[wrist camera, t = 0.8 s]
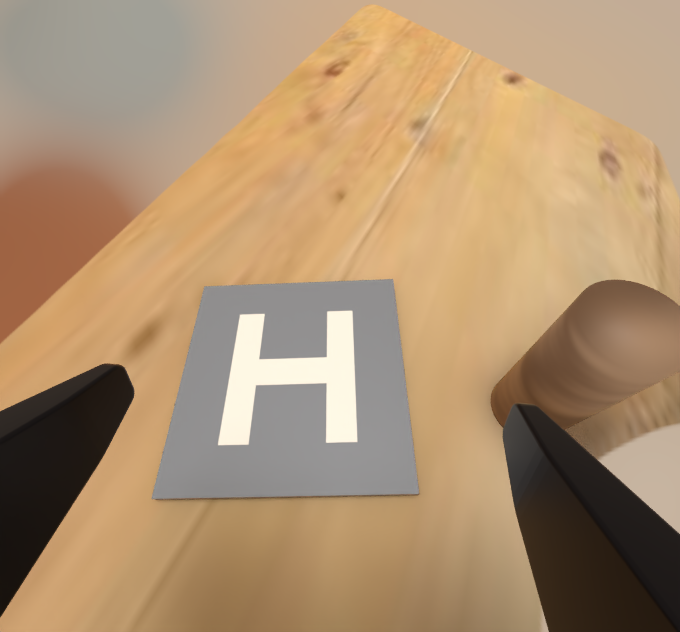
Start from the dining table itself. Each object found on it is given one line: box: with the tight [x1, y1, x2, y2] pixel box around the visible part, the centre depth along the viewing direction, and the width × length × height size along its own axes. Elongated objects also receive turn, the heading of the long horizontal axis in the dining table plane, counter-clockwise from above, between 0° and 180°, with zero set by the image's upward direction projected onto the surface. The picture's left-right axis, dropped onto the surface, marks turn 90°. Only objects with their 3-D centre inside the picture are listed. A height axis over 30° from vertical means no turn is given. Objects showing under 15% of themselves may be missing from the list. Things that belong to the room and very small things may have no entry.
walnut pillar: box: [491, 280, 680, 430], centre depth 18 cm, size 4×4×11 cm
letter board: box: [152, 279, 419, 500], centre depth 25 cm, size 16×16×1 cm
